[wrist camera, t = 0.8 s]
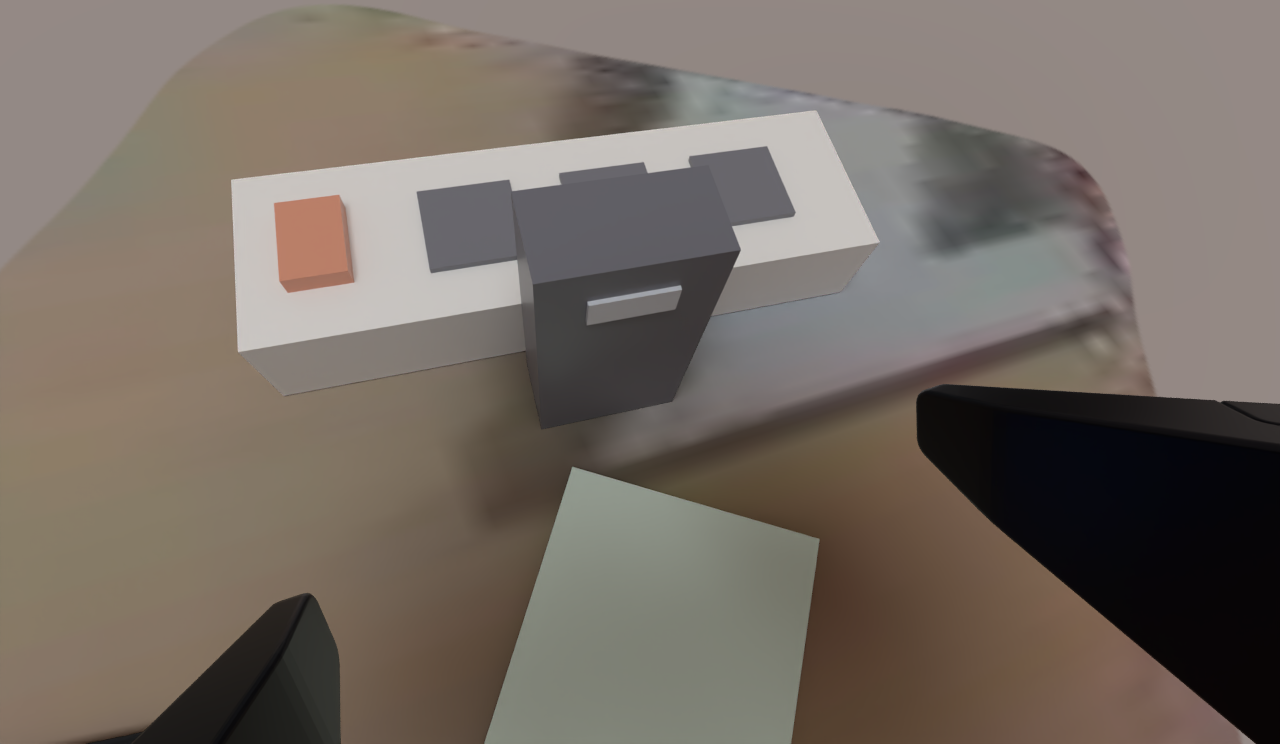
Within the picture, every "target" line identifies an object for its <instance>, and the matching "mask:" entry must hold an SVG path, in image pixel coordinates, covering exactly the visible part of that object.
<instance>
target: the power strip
mask: <svg viewBox="0 0 1280 744" xmlns="http://www.w3.org/2000/svg"><path fill="white" fill-rule="evenodd" d="M705 165H709V168H710V170H711V173H712V175H713V178H714V181H715V183H716V186H717V188H718V191H719V194H720V196H721V199H722V202H723V204H724V207H725V209H726V212H727V215H728V217H729V220H730V222H731V225H732V228H733V230H734V233H735V235H736V238H737V241H738V243H739V246H740V248H741V251H740V254H739V256H738V258H737V260H736V262H735V264H734V267H733V269H732V271H731V273H730V275H729V278H728V280H727V282H726V284H725V286H724V289H723V291H722V293H721V295H720V297H719V300H718V302H717V304H716V306H715V308H714V311H713V313H712V315H711V316H715V315H720V314H726V313H731V312H737V311H742V310H747V309H753V308H758V307H763V306H769V305H774V304H779V303H785V302H790V301H796V300H801V299H806V298H812V297H817V296H822V295H828V294H833V293H838V292H841V291H842V290H843V289H844V287H845V286H846V285H847V284H848V282H849V281H850V280H851V278H852V277H853V276H854V275H855V273H856V272H857V271H858V270H859V268H860V267H861V266H862V264H863V263H864V262H865V261H866V259H867V258H868V257H869V255H870V254H871V253H872V252H873V250H874V249H875V248H876V247H877V245H878V244H879V243H880V242H879V240H878V238H877V236H876V234H875V232H874V230H873V228H872V225H871V223H870V221H869V219H868V217H867V215H866V213H865V211H864V209H863V207H862V205H861V203H860V200H859V198H858V196H857V194H856V192H855V190H854V188H853V186H852V184H851V182H850V180H849V178H848V175H847V173H846V171H845V169H844V167H843V165H842V163H841V161H840V159H839V157H838V155H837V152H836V150H835V148H834V146H833V144H832V142H831V140H830V138H829V136H828V134H827V132H826V130H825V127H824V125H823V123H822V121H821V119H820V117H819V115H818V113H817V111H816V110H815V111H807V112H798V113H790V114H781V115H773V116H765V117H756V118H748V119H739V120H731V121H722V122H714V123H706V124H697V125H689V126H680V127H672V128H663V129H655V130H647V131H638V132H630V133H621V134H613V135H604V136H596V137H588V138H579V139H571V140H562V141H554V142H545V143H537V144H529V145H520V146H512V147H503V148H495V149H487V150H478V151H470V152H461V153H453V154H444V155H436V156H428V157H419V158H411V159H402V160H394V161H385V162H377V163H369V164H360V165H352V166H343V167H335V168H326V169H318V170H310V171H301V172H293V173H284V174H276V175H267V176H259V177H251V178H242V179H234V180H231V182H232V208H233V234H234V259H235V285H236V311H237V336H238V352H239V353H240V354H241V355H242V356H243V357H244V358H245V359H246V360H247V361H248V362H249V363H250V364H251V365H252V366H253V367H254V368H255V369H256V370H257V371H258V372H259V373H260V374H261V375H262V376H263V377H265V378H266V379H267V380H268V381H269V382H270V383H271V384H272V385H273V386H274V387H275V388H276V389H277V390H278V391H279V392H280V393H281V394H282V395H283V396H286V395H292V394H297V393H303V392H308V391H313V390H319V389H324V388H329V387H335V386H340V385H345V384H351V383H356V382H361V381H367V380H372V379H378V378H383V377H388V376H394V375H399V374H404V373H410V372H415V371H420V370H426V369H431V368H436V367H442V366H447V365H453V364H458V363H463V362H469V361H474V360H479V359H485V358H490V357H495V356H501V355H506V354H511V353H517V352H522V351H526V347H525V336H524V326H523V315H522V305H521V294H520V284H519V273H518V263H517V252H516V242H515V231H514V221H513V210H512V200H511V191H518V190H525V189H533V188H540V187H548V186H555V185H563V184H570V183H578V182H585V181H593V180H600V179H608V178H615V177H623V176H630V175H638V174H645V173H653V172H660V171H668V170H675V169H683V168H690V167H698V166H705Z"/></svg>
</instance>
